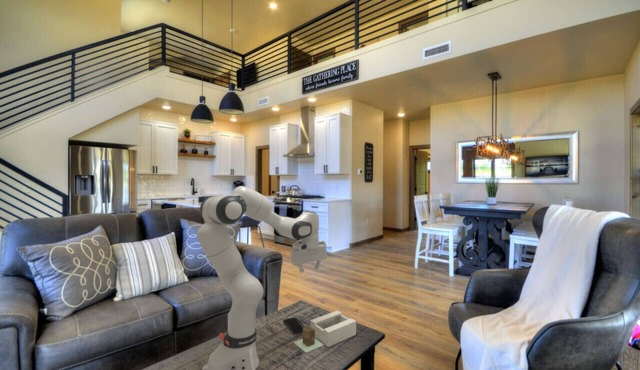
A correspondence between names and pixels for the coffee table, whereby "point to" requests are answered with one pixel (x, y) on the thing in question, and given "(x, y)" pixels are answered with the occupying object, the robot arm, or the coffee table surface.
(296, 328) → the phone
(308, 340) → the walnut block
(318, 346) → the sage mat
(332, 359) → the coffee table surface
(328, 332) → the slotted box
